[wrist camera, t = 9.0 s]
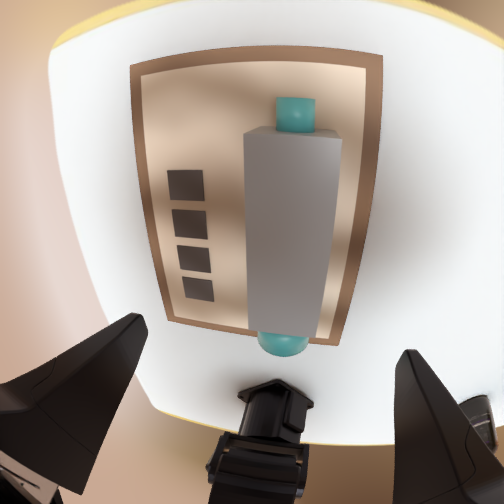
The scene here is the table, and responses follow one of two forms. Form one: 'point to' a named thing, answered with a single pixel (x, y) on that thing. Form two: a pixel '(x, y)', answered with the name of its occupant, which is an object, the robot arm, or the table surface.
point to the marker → (289, 224)
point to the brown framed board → (232, 169)
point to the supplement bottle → (482, 420)
